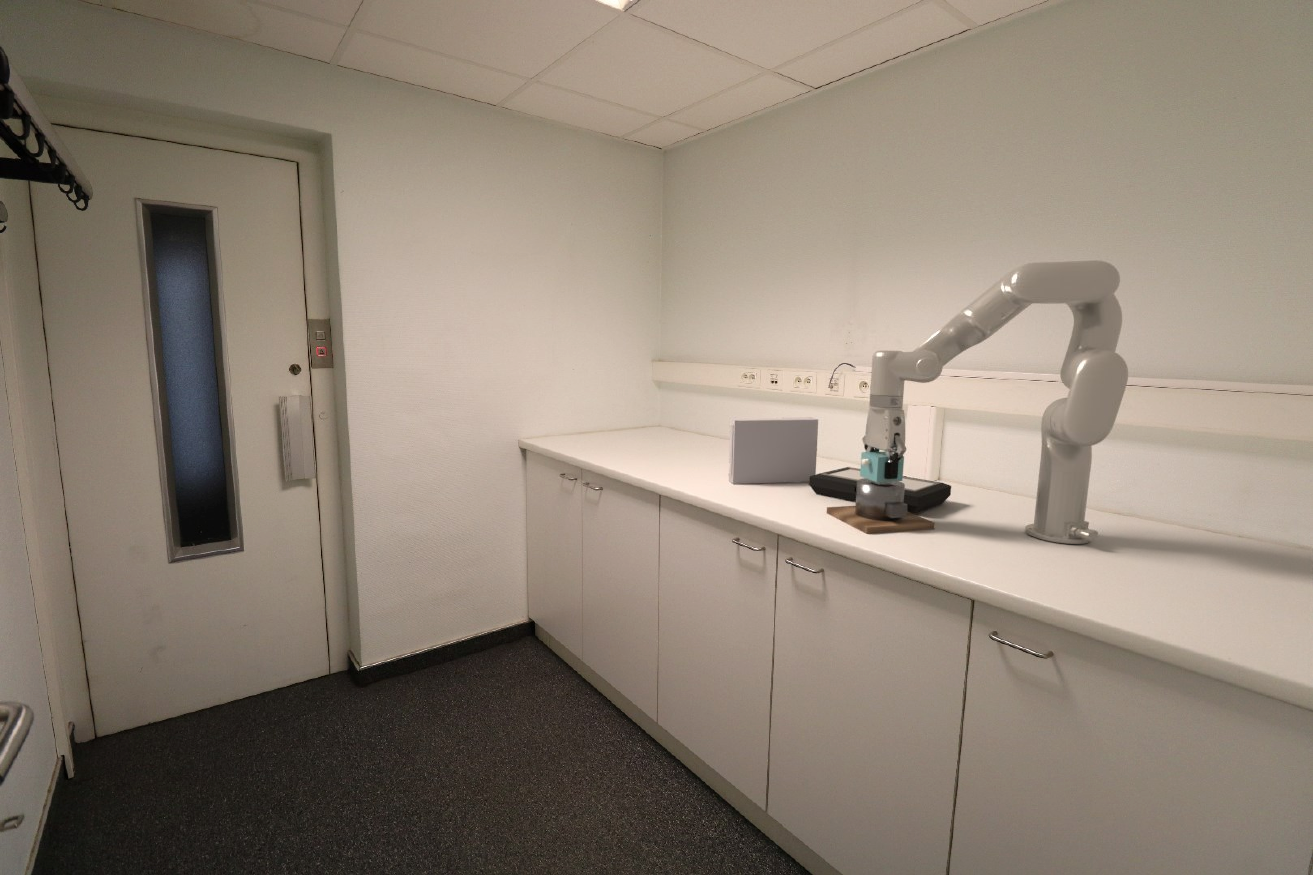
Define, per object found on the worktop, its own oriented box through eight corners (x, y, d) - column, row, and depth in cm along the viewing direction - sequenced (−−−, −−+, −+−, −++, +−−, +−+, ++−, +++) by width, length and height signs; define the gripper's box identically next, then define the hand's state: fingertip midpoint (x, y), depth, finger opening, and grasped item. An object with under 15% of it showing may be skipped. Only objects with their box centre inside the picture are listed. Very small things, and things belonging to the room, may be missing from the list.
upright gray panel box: (727, 480, 196) (728, 418, 193) (807, 478, 200) (810, 417, 198) (732, 484, 190) (734, 420, 187) (815, 481, 195) (818, 419, 192)
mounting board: (934, 528, 145) (934, 522, 145) (866, 533, 141) (867, 527, 141) (888, 509, 163) (888, 503, 162) (826, 512, 158) (826, 507, 158)
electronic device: (809, 473, 178) (846, 465, 191) (808, 494, 179) (844, 485, 192) (919, 493, 154) (951, 483, 168) (917, 517, 155) (949, 505, 169)
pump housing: (902, 481, 148) (904, 456, 147) (870, 482, 146) (872, 457, 145) (884, 475, 154) (886, 451, 154) (854, 476, 152) (855, 452, 151)
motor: (919, 522, 145) (922, 478, 144) (878, 525, 143) (880, 480, 141) (884, 507, 158) (887, 467, 157) (846, 510, 156) (848, 469, 154)
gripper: (923, 405, 140) (917, 482, 143) (878, 399, 157) (873, 467, 159) (894, 406, 138) (889, 483, 141) (852, 399, 155) (848, 468, 158)
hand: (881, 474), depth 150 cm, fingers closed on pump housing, 7 cm apart
